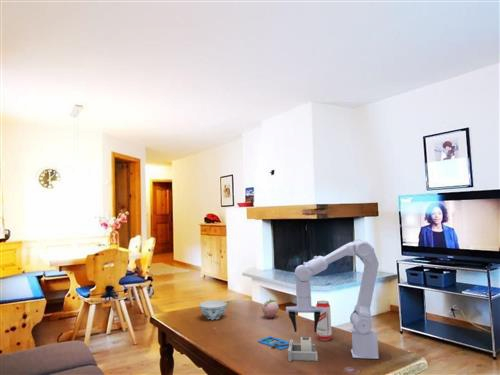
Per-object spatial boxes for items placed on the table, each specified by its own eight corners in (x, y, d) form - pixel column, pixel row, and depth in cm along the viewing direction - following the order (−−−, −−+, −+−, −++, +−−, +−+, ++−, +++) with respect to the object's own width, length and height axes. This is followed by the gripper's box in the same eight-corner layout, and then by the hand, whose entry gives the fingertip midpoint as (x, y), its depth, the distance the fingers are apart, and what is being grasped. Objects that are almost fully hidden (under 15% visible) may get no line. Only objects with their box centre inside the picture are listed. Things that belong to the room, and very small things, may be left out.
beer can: (322, 335, 164) (320, 299, 165) (334, 338, 159) (332, 301, 161) (314, 339, 159) (312, 302, 161) (326, 342, 155) (324, 304, 156)
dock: (317, 350, 146) (316, 340, 147) (317, 362, 134) (316, 351, 135) (290, 349, 148) (290, 339, 148) (288, 361, 136) (287, 350, 137)
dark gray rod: (295, 345, 153) (295, 342, 153) (295, 346, 152) (295, 343, 152) (271, 347, 151) (270, 345, 151) (271, 348, 150) (271, 346, 150)
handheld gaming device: (281, 348, 148) (256, 340, 159) (282, 351, 148) (256, 342, 159) (295, 343, 154) (269, 335, 165) (295, 345, 153) (270, 337, 164)
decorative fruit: (268, 314, 201) (267, 296, 202) (281, 316, 196) (280, 297, 197) (259, 319, 193) (258, 299, 194) (272, 321, 189) (271, 301, 189)
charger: (311, 352, 143) (310, 336, 144) (311, 356, 140) (310, 340, 140) (301, 352, 144) (300, 336, 145) (301, 356, 140) (300, 339, 141)
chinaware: (196, 316, 202) (196, 302, 202) (221, 312, 208) (221, 299, 209) (204, 323, 188) (204, 308, 189) (231, 319, 195) (231, 304, 195)
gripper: (322, 293, 146) (323, 328, 145) (286, 293, 148) (287, 327, 147) (322, 298, 139) (324, 334, 138) (284, 297, 142) (286, 333, 141)
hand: (305, 331), depth 142 cm, fingers open, 7 cm apart
